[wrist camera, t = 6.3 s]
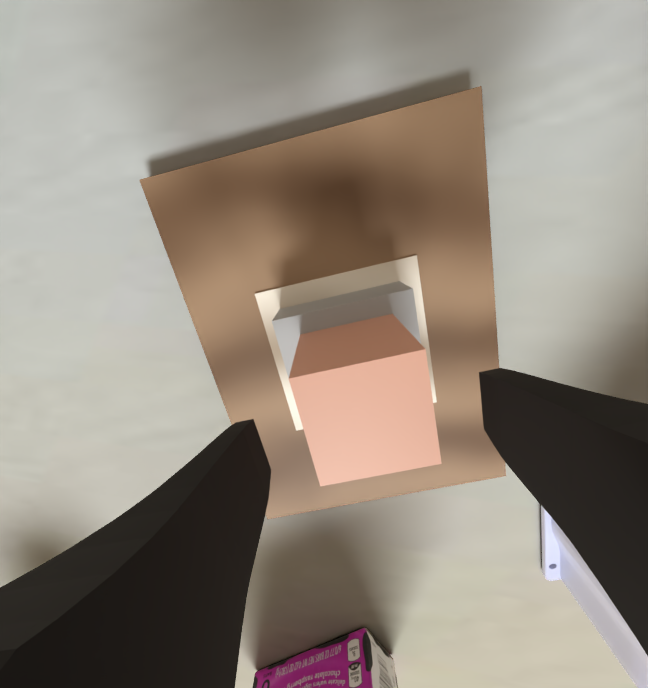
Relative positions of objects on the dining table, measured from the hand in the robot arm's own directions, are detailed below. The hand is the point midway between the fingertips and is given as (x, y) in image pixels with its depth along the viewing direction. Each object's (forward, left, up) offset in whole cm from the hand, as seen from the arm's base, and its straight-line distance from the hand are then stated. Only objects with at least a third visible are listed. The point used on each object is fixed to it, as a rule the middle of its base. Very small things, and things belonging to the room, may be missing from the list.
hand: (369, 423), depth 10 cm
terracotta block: (0, 0, -4) cm, 4 cm away
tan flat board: (0, 0, -8) cm, 8 cm away
